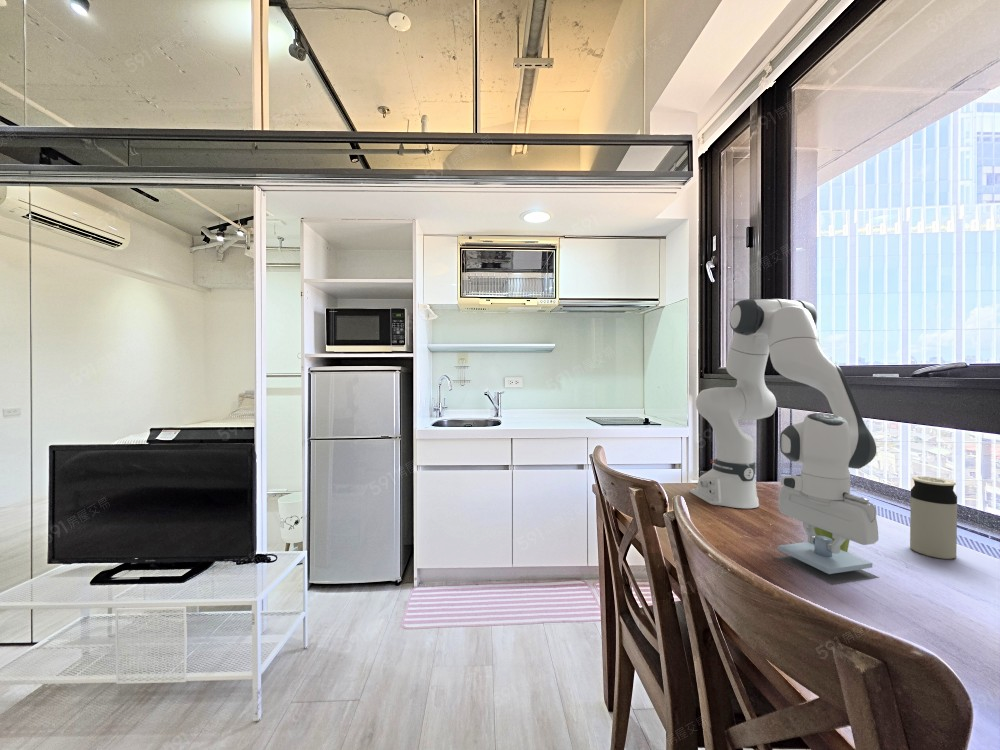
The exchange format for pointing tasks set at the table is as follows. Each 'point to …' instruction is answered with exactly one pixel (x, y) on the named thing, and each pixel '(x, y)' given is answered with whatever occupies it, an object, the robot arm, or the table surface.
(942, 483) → the travel mug
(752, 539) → the table surface
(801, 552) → the lid
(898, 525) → the table surface
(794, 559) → the mat
